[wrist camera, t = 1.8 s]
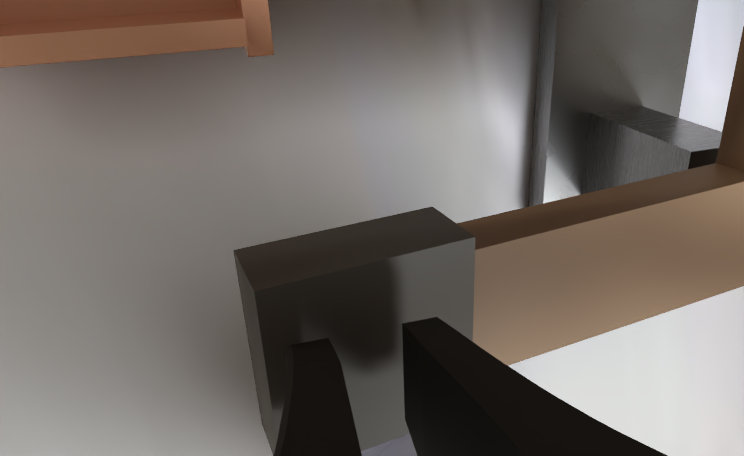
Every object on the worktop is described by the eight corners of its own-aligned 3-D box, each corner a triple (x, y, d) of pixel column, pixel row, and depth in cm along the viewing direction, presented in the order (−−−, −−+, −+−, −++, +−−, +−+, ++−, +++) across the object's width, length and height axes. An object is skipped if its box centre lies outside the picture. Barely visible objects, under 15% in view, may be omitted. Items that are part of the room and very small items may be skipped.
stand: (645, 199, 23) (777, 269, 18) (527, 217, 22) (630, 299, 17) (721, -295, 17) (960, -412, 12) (561, -301, 16) (743, -434, 10)
